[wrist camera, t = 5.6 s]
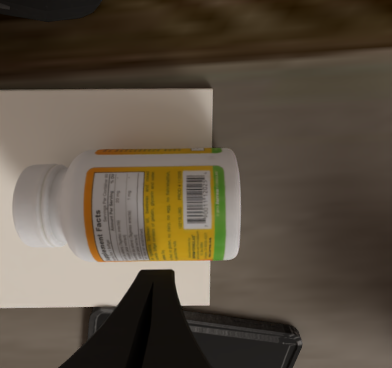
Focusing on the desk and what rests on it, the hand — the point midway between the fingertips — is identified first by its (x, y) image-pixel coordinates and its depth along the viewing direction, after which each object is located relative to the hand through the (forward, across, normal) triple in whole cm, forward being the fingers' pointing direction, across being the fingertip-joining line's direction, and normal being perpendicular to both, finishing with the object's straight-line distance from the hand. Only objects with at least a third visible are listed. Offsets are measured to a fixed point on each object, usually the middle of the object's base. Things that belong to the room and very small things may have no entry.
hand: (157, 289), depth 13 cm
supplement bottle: (+4, -4, -2) cm, 6 cm away
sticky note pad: (+7, +4, 0) cm, 8 cm away
